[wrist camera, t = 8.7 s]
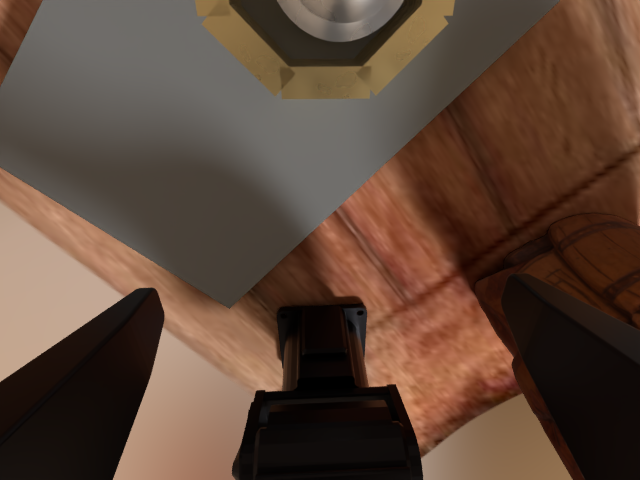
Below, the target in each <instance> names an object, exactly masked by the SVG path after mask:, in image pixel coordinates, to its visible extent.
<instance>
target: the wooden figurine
mask: <svg viewBox="0 0 640 480" xmlns="http://www.w3.org/2000/svg"><path fill="white" fill-rule="evenodd" d="M512 273H528V274H530V275H532V276H534V277H536V278H538V279H540V280H542V281H544V282H546V283H548V284H550V285H552V286H553V287H555V288H557V289H559V290H561V291H563V292H565V293H567V294H569V295H571V296H573V297H575V298H577V299H579V300H581V301H583V302H585V303H587V304H589V305H591V306H593V307H595V308H597V309H599V310H601V311H602V312H604V313H606V314H608V315H610V316H612V317H614V318H616V319H618V320H620V321H622V322H624V323H626V324H628V325H630V326H632V327H634V328H636V329H638V330H640V226H638V225H636V224H634V223H632V222H630V221H627V220H625V219H623V218H620V217H618V216H614V215H610V214H609V215H605V214H597V213H590V214H581V215H576V216H572V217H567V218H564V219H562V220H560V221H558V222H556V223H554V224H552V225H551V226H550V227H549V230H548V233H547V234H546V235H545V236H543V237H542V238H539V239H537V240H534V241H531V242H528V243H527V244H525V245H524V246H523V247H522V248H519V249H517V250H515V251H513V252H511V253H510V254H509V255H508V256H507V257H506V258H505V260H504V268H503V270H502V271H500V272H498V273H495V274H493V275H491V276H487V277H485V278H484V279H481V280H479V281H477V282H476V283H475V293H476V297H477V299H478V302H479V304H480V306H481V308H482V309H483V311H484V312H485V314H486V316H487V318H488V319H489V321H490V323H491V325H492V327H493V329H494V330H495V332H496V334H497V336H498V337H499V338H500V339H501V340H502V342H503V343H504V345H505V346H506V347H507V349H508V350H509V351H510V353H511V354H512V355H513V357H514V359H513V361H512V368H513V372H514V375H515V378H516V380H517V382H518V384H519V386H520V389H521V390H522V392H523V394H524V396H525V398H526V399H527V402H528V404H529V405H530V407H531V409H532V411H533V413H534V414H535V415H536V416H537V418H538V420H539V421H540V423H541V425H542V427H543V429H544V431H545V433H546V434H547V436H548V438H549V440H550V441H551V443H552V445H553V446H554V448H555V450H556V451H557V453H558V455H559V457H560V458H561V460H562V462H563V464H564V465H565V467H566V469H567V470H568V472H569V474H570V476H571V477H572V479H573V480H585V479H584V477H583V475H582V473H581V471H580V469H579V468H578V466H577V464H576V462H575V460H574V458H573V456H572V454H571V452H570V450H569V448H568V446H567V445H566V443H565V441H564V439H563V437H562V435H561V433H560V431H559V429H558V427H557V425H556V423H555V422H554V420H553V418H552V416H551V414H550V412H549V410H548V408H547V406H546V404H545V402H544V400H543V399H542V397H541V395H540V393H539V391H538V389H537V387H536V385H535V383H534V381H533V379H532V377H531V376H530V374H529V372H528V370H527V368H526V366H525V364H524V362H523V360H522V357H521V355H520V353H519V350H518V348H517V345H516V343H515V340H514V338H513V335H512V333H511V330H510V327H509V325H508V322H507V320H506V317H505V315H504V312H503V309H502V306H501V296H502V293H503V290H504V286H505V283H506V280H507V277H508V276H509V275H510V274H512Z"/></svg>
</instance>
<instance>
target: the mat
mask: <svg viewBox="0 0 640 480" xmlns="http://www.w3.org/2000/svg"><path fill="white" fill-rule="evenodd" d="M559 1H560V0H455V3H454V10H453V16H444V18H445V19H446V20H447V22H448V23H449V24H448V25H447V26H446V27H445V28H444V29H442V30H441V31H440V32H439V33H438V34H437V35H436V36H435V37H434V38H433V39H432V40H431V41H430V42H429V43H428V44H427V45H426V46H425V47H424V48H423V49H422V50H421V51H420V52H419V53H418V54H417V55H416V56H415V57H414V58H413V59H412V60H411V61H410V62H409V63H408V64H407V65H406V66H405V67H404V68H403V69H402V70H401V71H400V72H399V73H398V74H397V75H396V76H395V77H394V78H393V79H392V80H391V81H390V82H389V83H388V84H387V85H386V86H385V87H384V88H383V89H382V90H381V91H380V92H379V93H378V94H377V95H375V94H374V93H373V92H372V91H371V90H370V99H282V95H281V91H280V92H279V93H278V94H277V95H276V97H275V96H274V95H273V94H272V93H271V92H270V91H269V90H268V89H267V88H266V87H265V86H264V85H263V84H262V83H261V82H260V81H259V80H258V79H257V78H256V77H255V76H254V75H253V74H252V73H251V72H250V71H249V70H248V69H247V68H246V67H245V66H244V65H243V64H242V63H241V62H239V61H238V60H237V59H236V58H235V57H234V56H233V55H232V54H231V53H230V52H229V51H228V50H227V49H226V48H225V47H224V46H223V45H222V44H221V43H220V42H219V41H218V40H217V39H216V38H215V37H214V36H213V35H212V34H211V33H210V32H209V31H208V30H207V29H206V28H205V27H204V26H203V25H202V23H203V21H204V20H205V19H206V17H207V16H197V10H196V4H195V0H43V1H42V3H41V5H40V7H39V9H38V11H37V13H36V15H35V17H34V19H33V21H32V23H31V25H30V28H29V30H28V32H27V34H26V36H25V38H24V40H23V42H22V44H21V46H20V48H19V50H18V52H17V54H16V56H15V58H14V60H13V62H12V64H11V66H10V68H9V70H8V72H7V74H6V76H5V78H4V80H3V82H2V84H1V86H0V167H1V168H2V169H4V170H6V171H7V172H9V173H10V174H12V175H14V176H15V177H17V178H19V179H20V180H22V181H23V182H25V183H27V184H28V185H30V186H32V187H33V188H35V189H36V190H38V191H40V192H41V193H43V194H44V195H46V196H48V197H49V198H51V199H53V200H54V201H56V202H57V203H59V204H61V205H62V206H64V207H65V208H67V209H69V210H70V211H72V212H74V213H75V214H77V215H78V216H80V217H82V218H83V219H85V220H87V221H88V222H90V223H91V224H93V225H95V226H96V227H98V228H99V229H101V230H103V231H104V232H106V233H108V234H109V235H111V236H112V237H114V238H116V239H117V240H119V241H121V242H122V243H124V244H125V245H127V246H129V247H130V248H132V249H133V250H135V251H137V252H138V253H140V254H142V255H143V256H145V257H146V258H148V259H150V260H151V261H153V262H155V263H156V264H158V265H159V266H161V267H163V268H164V269H166V270H167V271H169V272H171V273H172V274H174V275H176V276H177V277H179V278H180V279H182V280H184V281H185V282H187V283H189V284H190V285H192V286H193V287H195V288H197V289H198V290H200V291H201V292H203V293H205V294H206V295H208V296H210V297H211V298H213V299H214V300H216V301H218V302H219V303H221V304H222V305H224V306H226V307H227V308H229V309H230V308H231V307H232V306H233V305H234V304H235V303H236V302H237V301H238V300H239V299H240V298H241V297H242V296H244V295H245V294H246V293H247V292H248V291H249V290H250V289H251V288H252V287H253V286H254V285H255V284H256V283H258V282H259V281H260V280H261V279H262V278H263V277H264V276H265V275H266V274H267V273H268V272H269V271H270V270H271V269H273V268H274V267H275V266H276V265H277V264H278V263H279V262H280V261H281V260H282V259H283V258H284V257H285V256H287V255H288V254H289V253H290V252H291V251H292V250H293V249H294V248H295V247H296V246H297V245H298V244H299V243H300V242H302V241H303V240H304V239H305V238H306V237H307V236H308V235H309V234H310V233H311V232H312V231H313V230H314V229H316V228H317V227H318V226H319V225H320V224H321V223H322V222H323V221H324V220H325V219H326V218H327V217H328V216H329V215H331V214H332V213H333V212H334V211H335V210H336V209H337V208H338V207H339V206H340V205H341V204H342V203H343V202H345V201H346V200H347V199H348V198H349V197H350V196H351V195H352V194H353V193H354V192H355V191H356V190H357V189H358V188H360V187H361V186H362V185H363V184H364V183H365V182H366V181H367V180H368V179H369V178H370V177H371V176H372V175H374V174H375V173H376V172H377V171H378V170H379V169H380V168H381V167H382V166H383V165H384V164H385V163H386V162H387V161H389V160H390V159H391V158H392V157H393V156H394V155H395V154H396V153H397V152H398V151H399V150H400V149H401V148H403V147H404V146H405V145H406V144H407V143H408V142H409V141H410V140H411V139H412V138H413V137H414V136H415V135H416V134H418V133H419V132H420V131H421V130H422V129H423V128H424V127H425V126H426V125H427V124H428V123H429V122H430V121H432V120H433V119H434V118H435V117H436V116H437V115H438V114H439V113H440V112H441V111H442V110H443V109H444V108H445V107H447V106H448V105H449V104H450V103H451V102H452V101H453V100H454V99H455V98H456V97H457V96H458V95H459V94H461V93H462V92H463V91H464V90H465V89H466V88H467V87H468V86H469V85H470V84H471V83H472V82H473V81H474V80H476V79H477V78H478V77H479V76H480V75H481V74H482V73H483V72H484V71H485V70H486V69H487V68H488V67H490V66H491V65H492V64H493V63H494V62H495V61H496V60H497V59H498V58H499V57H500V56H501V55H502V54H503V53H505V52H506V51H507V50H508V49H509V48H510V47H511V46H512V45H513V44H514V43H515V42H516V41H517V40H519V39H520V38H521V37H522V36H523V35H524V34H525V33H526V32H527V31H528V30H529V29H530V28H531V27H532V26H534V25H535V24H536V23H537V22H538V21H539V20H540V19H541V18H542V17H543V16H544V15H545V14H546V13H548V12H549V11H550V10H551V9H552V8H553V7H554V6H555V5H556V4H557V3H558V2H559ZM403 2H404V1H403ZM241 6H242V7H243V9H244V10H245V11H246V12H247V13H248V14H249V15H250V16H251V17H252V18H253V19H254V20H255V21H256V22H257V23H258V24H259V25H260V27H261V28H262V29H263V30H264V31H265V32H266V33H267V34H268V35H269V36H270V37H271V38H272V39H273V40H274V41H275V42H276V43H277V44H278V46H279V47H280V48H281V49H282V50H283V51H284V52H285V53H286V54H287V55H288V56H289V57H290V58H291V59H354V58H355V57H356V56H357V55H358V54H359V53H360V52H361V51H362V50H363V48H364V47H365V46H366V45H367V44H368V43H369V42H370V41H371V40H372V39H373V38H374V37H375V36H376V35H377V34H378V32H379V31H380V30H381V29H382V28H383V27H384V26H385V25H386V24H387V23H388V22H389V21H390V20H391V19H392V17H393V16H394V15H395V14H396V13H397V12H398V11H399V10H400V9H401V8H402V7H403V3H402V4H401V6H400V7H399V9H398V10H397V11H396V13H395V14H394V15H393V16H392V17H391V18H390V19H389V20H388V21H387V22H386V23H385V24H384V25H383V26H382V27H380V28H379V29H378V30H376V31H375V32H373V33H371V34H369V35H367V36H365V37H362V38H360V39H356V40H352V41H346V42H332V41H327V40H322V39H320V38H317V37H314V36H312V35H310V34H308V33H307V32H305V31H304V30H302V29H301V28H299V27H298V26H297V25H296V24H295V23H294V22H293V21H292V20H291V19H290V18H289V17H288V16H287V15H286V13H285V12H284V11H283V9H282V8H281V6H280V5H279V3H278V2H277V0H241Z"/></svg>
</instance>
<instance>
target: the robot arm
mask: <svg viewBox="0 0 640 480" xmlns="http://www.w3.org/2000/svg"><path fill="white" fill-rule="evenodd" d="M501 306H502V309H503V312H504V315H505V317H506V320H507V322H508V325H509V327H510V330H511V333H512V335H513V338H514V340H515V343H516V345H517V348H518V350H519V353H520V355H521V357H522V360H523V362H524V364H525V366H526V368H527V370H528V372H529V374H530V376H531V377H532V379H533V381H534V383H535V385H536V387H537V389H538V391H539V393H540V395H541V397H542V399H543V400H544V402H545V404H546V406H547V408H548V410H549V412H550V414H551V416H552V418H553V420H554V422H555V423H556V425H557V427H558V429H559V431H560V433H561V435H562V437H563V439H564V441H565V443H566V445H567V446H568V448H569V450H570V452H571V454H572V456H573V458H574V460H575V462H576V464H577V466H578V468H579V469H580V471H581V473H582V475H583V477H584V479H585V480H640V330H638V329H636V328H634V327H632V326H630V325H628V324H626V323H624V322H622V321H620V320H618V319H616V318H614V317H612V316H610V315H608V314H606V313H604V312H602V311H601V310H599V309H597V308H595V307H593V306H591V305H589V304H587V303H585V302H583V301H581V300H579V299H577V298H575V297H573V296H571V295H569V294H567V293H565V292H563V291H561V290H559V289H557V288H555V287H553V286H552V285H550V284H548V283H546V282H544V281H542V280H540V279H538V278H536V277H534V276H532V275H530V274H528V273H512V274H510V275H509V276H508V277H507V280H506V283H505V286H504V290H503V293H502V296H501ZM359 310H362V311H361V312H357V311H359ZM283 313H284V314H286V315H282V314H283ZM366 322H367V310H366V307H365V305H363V304H347V305H323V306H298V307H281V308H279V309H278V311H277V323H278V332H279V341H280V350H281V359H282V368H283V385H282V391H270V392H265V390H257V391H256V394H255V398H254V402H252V403H251V406H250V410H249V412H248V419H247V423H246V427H245V431H244V435H243V439H242V443H241V446H240V448H239V451H238V453H237V455H236V458H235V460H234V462H233V466H232V475H233V477H234V478H235V480H423V472H422V464H421V457H420V452H419V447H418V443H417V439H416V435H415V433H414V430H413V427H412V425H411V422H410V419H409V417H408V414H407V412H406V409H405V407H404V404H403V402H402V399H401V397H400V394H399V392H398V389H397V387H396V384H391V385H387V386H381V387H369V385H368V380H367V374H366V368H365V362H364V355H365V338H366ZM163 324H164V310H163V307H162V304H161V301H160V298H159V295H158V292H157V290H156V289H154V288H139V289H136V290H135V291H133V292H132V293H130V294H129V295H127V296H126V297H124V298H123V299H121V300H120V301H118V302H117V303H116V304H114V305H113V306H111V307H110V308H108V309H107V310H105V311H104V312H102V313H101V314H99V315H98V316H97V317H95V318H94V319H92V320H91V321H89V322H88V323H86V324H85V325H83V326H82V327H80V328H79V329H77V330H76V331H75V332H73V333H71V334H70V335H69V336H68V337H66V338H64V339H63V340H61V341H60V342H58V343H57V344H55V345H54V346H52V347H51V348H50V349H48V350H47V351H45V352H44V353H42V354H41V355H39V356H38V357H36V358H35V359H33V360H32V361H30V362H29V363H27V364H26V365H25V366H23V367H22V368H20V369H19V370H17V371H16V372H14V373H13V374H11V375H10V376H8V377H7V378H5V379H4V380H3V381H1V382H0V480H113V477H114V475H115V472H116V469H117V466H118V464H119V461H120V458H121V456H122V453H123V450H124V447H125V445H126V442H127V439H128V437H129V434H130V431H131V428H132V426H133V423H134V420H135V417H136V415H137V412H138V409H139V407H140V404H141V401H142V398H143V396H144V393H145V390H146V387H147V385H148V382H149V379H150V376H151V372H152V369H153V365H154V361H155V356H156V353H157V348H158V344H159V340H160V336H161V332H162V328H163Z"/></svg>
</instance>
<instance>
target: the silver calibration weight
mask: <svg viewBox="0 0 640 480" xmlns="http://www.w3.org/2000/svg"><path fill="white" fill-rule="evenodd" d="M403 1H404V0H277V2H278V3H279V5H280V6H281V8H282V9H283V11H284V12H285V13H286V15H287V16H288V17H289V18H290V19H291V20H292V21H293V22H294V23H295V24H296V25H297V26H298V27H299V28H301V29H302V30H304V31H305V32H307V33H308V34H310V35H312V36H314V37H317V38H320V39H322V40H327V41H332V42H346V41H352V40H356V39H360V38H362V37H365V36H367V35H369V34H371V33H373V32H375V31H376V30H378V29H379V28H380V27H382V26H383V25H384V24H385V23H386V22H387V21H388V20H389V19H390V18H391V17H392V16H393V15H394V14H395V13H396V11H397V10H398V9H399V7H400V6H401V4H402V3H403Z"/></svg>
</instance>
